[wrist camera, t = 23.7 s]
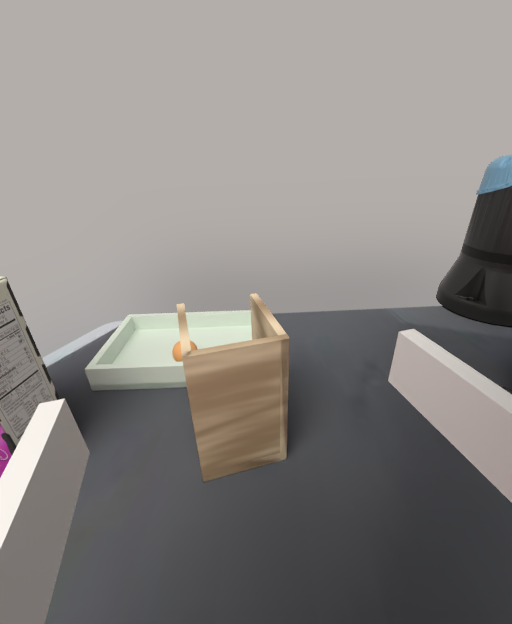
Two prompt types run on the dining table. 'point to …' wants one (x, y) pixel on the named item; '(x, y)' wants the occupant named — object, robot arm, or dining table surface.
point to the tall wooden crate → (239, 396)
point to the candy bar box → (18, 375)
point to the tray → (160, 348)
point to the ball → (177, 350)
